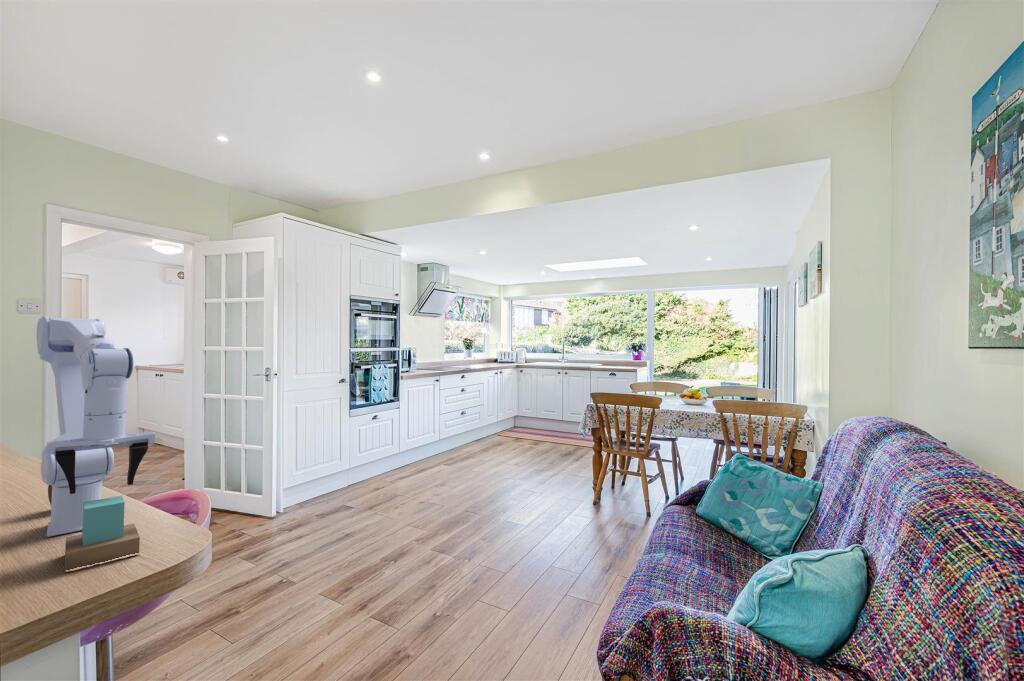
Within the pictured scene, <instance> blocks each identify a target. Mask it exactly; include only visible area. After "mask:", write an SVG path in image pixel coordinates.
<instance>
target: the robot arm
mask: <svg viewBox="0 0 1024 681" xmlns="http://www.w3.org/2000/svg"><path fill="white" fill-rule="evenodd" d="M36 348H37V354H38V355H39V360H41V361H45V362H47V363H48V364H50V366H51V369H52V372H53V376H54V385H55V394H56V396H55V397H56V403H57V413H58V414H57V417H58V425H59V434H60V435H59V436H58V437H56V438H55V439H53V440H51V441H47V442H46V445H45V446H44V448H43V450H42V452H41V462H40V464H41V466H40V474H41V481H42V482H43V483H44V484H45V485H47V486H49V485H51V486H52V502H51V505H50V521H48V523H47V530H46V537H48V538H49V537H53V536H60V535H63V534H68V533H69V534H70V533H75V532H79V531H82V527H83V502H88V501H94V500H100V499H103V498H102V497H103V496H102V494H103V492H102V491H103V480H106V476H109V475H110V474H111V472H112V471H113V469H114V465H115V455H114V453H115V452H114V450H113V448H119V447H126V446H127V447H128V469H127V478H126V479H127V480H126V484H127V485H128V486H132V485H134V480H135V477H136V474H137V470H138V468H139V466H140V464H141V462H142V461H143V458H144V457H145V455H146V453H147V452H148V450H149V445H151V444H152V445H155V444H156V433H155V432H154V431H153V432H141V433H140V432H139V433H126V424H127V423H126V422H127V421H126V419H127V396H128V395H127V391H128V379H130V378H131V377H132V374H133V370H134V356H133V352H132V350H131V349H130V348H129V347H123V348H118V347H117V345H116V344H115V343H114V342H113V341H112V340H111V339H110V338H109V337H108V336H106V325H105V323H104V321H103V320H102V319H100V318H95V319H91V318H89V319H88V318H74V317H73V318H71V317H56V316H55V317H54V316H48V315H43V316H42V317H40V318H39V319H38V321H37V325H36Z"/></svg>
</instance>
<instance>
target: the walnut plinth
mask: <svg viewBox="0 0 1024 681" xmlns="http://www.w3.org/2000/svg"><path fill="white" fill-rule="evenodd" d="M140 540H141V539H140V535H139V532H138V530H137V527H136V524H135V523H130V524H125V525H124V531H123V537H122V538H117V539H113V540H108V541H103V542H99V543H94V544H90V545H85V546H83V542H82V533H80V534H77V535H71V536H67V537H65V547H64V548H65V550H64V551H65V552H64V571H65V570H70V569H74V568H77V567H82V566H87V565H92V564H95V563H100V562H105V561H108V560H112V559H115V558H119V557H122V556H126V555H130V554H135V553H139V554H140Z"/></svg>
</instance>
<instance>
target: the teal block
mask: <svg viewBox="0 0 1024 681" xmlns="http://www.w3.org/2000/svg"><path fill="white" fill-rule="evenodd" d="M124 519H125V500H124V497H123V495H119V496H113V497H107V498H106V497H105V498H102V499H100V500H94V501H88V502H83V527H82V530H81V531H82V532H81V534H82V542H83V546H85V545H90V544H94V543H99V542H103V541H108V540H113V539H117V538H122V537H123V531H124V526H125V525H124V524H125V523H124V521H125V520H124Z"/></svg>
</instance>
